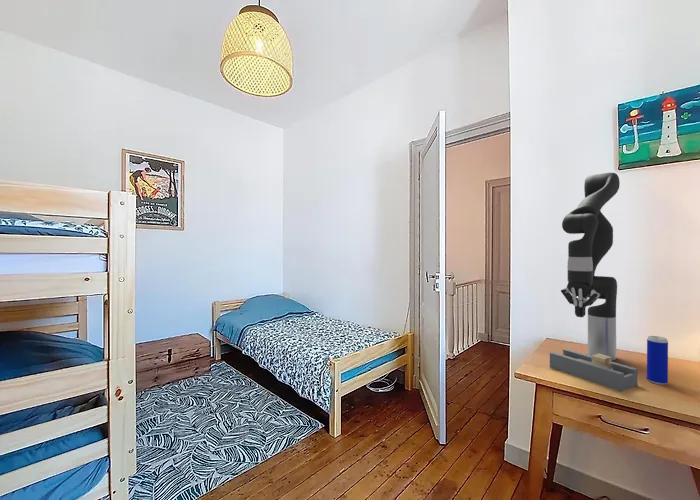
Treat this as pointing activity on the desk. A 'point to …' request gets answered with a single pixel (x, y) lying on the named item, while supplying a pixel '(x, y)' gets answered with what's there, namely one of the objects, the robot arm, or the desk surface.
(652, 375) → the blue cylinder
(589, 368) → the box
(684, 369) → the desk surface
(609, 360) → the birch block
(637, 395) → the desk surface
